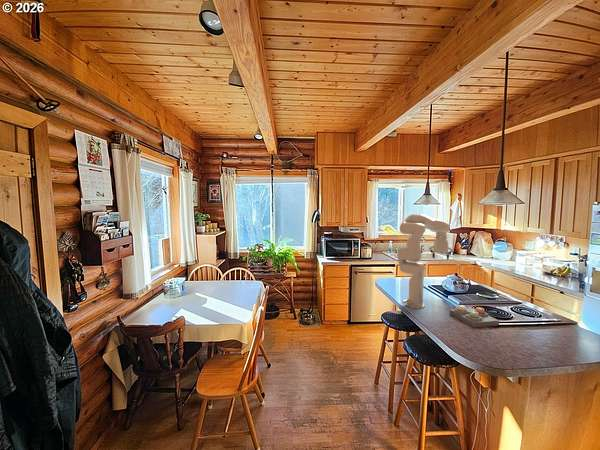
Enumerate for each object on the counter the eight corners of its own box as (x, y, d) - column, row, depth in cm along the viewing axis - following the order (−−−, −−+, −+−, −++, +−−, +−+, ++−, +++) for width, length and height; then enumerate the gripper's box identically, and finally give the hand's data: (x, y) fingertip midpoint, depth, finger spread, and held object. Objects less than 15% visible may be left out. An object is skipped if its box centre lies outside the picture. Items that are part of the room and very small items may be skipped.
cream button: (461, 311, 171) (461, 307, 171) (456, 308, 175) (456, 305, 175) (467, 311, 171) (467, 307, 171) (462, 308, 176) (462, 304, 176)
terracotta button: (479, 313, 167) (479, 310, 167) (474, 311, 171) (474, 307, 171) (485, 313, 168) (486, 309, 168) (480, 310, 172) (480, 307, 172)
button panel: (473, 327, 158) (473, 320, 158) (449, 314, 178) (450, 307, 178) (499, 325, 161) (499, 318, 160) (472, 312, 180) (473, 306, 180)
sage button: (473, 317, 161) (473, 314, 161) (467, 315, 165) (468, 311, 165) (480, 317, 162) (480, 313, 161) (474, 314, 166) (474, 310, 166)
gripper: (428, 237, 217) (428, 258, 218) (453, 238, 208) (452, 260, 209) (430, 236, 223) (429, 257, 224) (453, 238, 214) (453, 259, 215)
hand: (440, 258), depth 217 cm, fingers open, 9 cm apart
